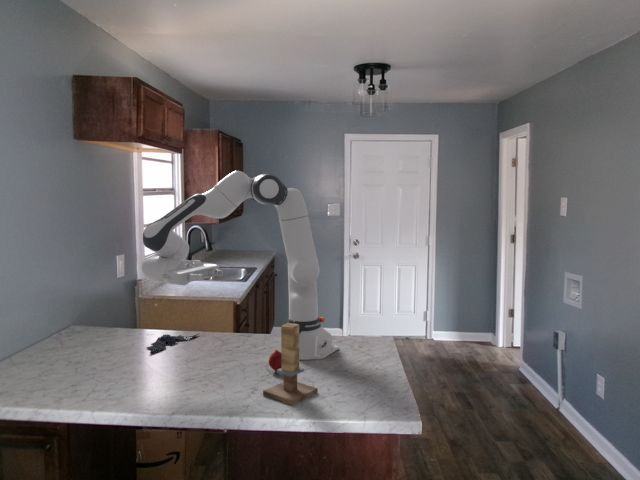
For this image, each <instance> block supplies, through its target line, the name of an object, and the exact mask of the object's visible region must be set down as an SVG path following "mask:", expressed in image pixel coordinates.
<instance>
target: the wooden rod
mask: <svg viewBox="0 0 640 480" xmlns="http://www.w3.org/2000/svg"><path fill="white" fill-rule="evenodd" d="M280 330H281V331H280V334H281V335H280V337H281V341H280V342H281V345H280V346H281V347H280V349H281V350H280V352H281V366H282V370H283V371H288V372H294V371H296V370H297V369H299V367H300V360H299V324H293V323H288V322H287V323H284V324H283V325H281V326H280Z"/></svg>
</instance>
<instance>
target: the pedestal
mask: <svg viewBox="0 0 640 480" xmlns="http://www.w3.org/2000/svg"><path fill="white" fill-rule="evenodd" d="M304 372H305V368H302V367H300V366H299V369H297V370H296V371H294V372H288V371H283V370H282V368H280V369H277V372H276V373H277V374H280V375H283V381H282V382H280V383H277V384H275V385H273V386H271V387H268V388H267V389H266V388H265V389H264V390H262V396H264V397H267V398H270V399H272V400H275V401H279V402H281V403H285V404H287V405H289V406H294V405H296V404H298V403H300V402H302V401H304V400H306V399H309V398H310V397H313V396H314V395H317V394H318V391H319V389H318V388H317V387H315V386H313V385H312V386H311V385H308V384H304V383H301V382H298V375H299V374H300V373H304Z"/></svg>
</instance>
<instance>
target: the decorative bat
mask: <svg viewBox="0 0 640 480" xmlns="http://www.w3.org/2000/svg"><path fill="white" fill-rule="evenodd" d="M197 336H199V333H196V334H194V335H189V336H183V335H181V334H179V335H178V336H177V335H176V336H175V335H170V334H163V335H161V336H159V337H157V339H156V340H155V341H154V342H153V343H150V346H148V347H146V349H147V350H149V351H150V353H156V352H157V353H158V352H163V351H166V350H167V347H166V345H168V346H175V345H176V343H179V341H180V342H188V341H187V340H189V341H191V340H193V339H194V338H196V337H197ZM184 337H186V338H187V337H192V338H190V339H191V340H190V339H188V338H187V340H186V339H184ZM177 340H178V341H177Z"/></svg>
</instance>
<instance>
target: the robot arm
mask: <svg viewBox="0 0 640 480" xmlns="http://www.w3.org/2000/svg"><path fill="white" fill-rule="evenodd" d="M248 199H251V200H253V201H255V202H256V203H258V204H261V205H273V206H274V207H275V209H276V212H277V215H278V221H279V227H280V231H281V232H280V233H281V236H282V241H283V246H284V250H285V255H286V259H287V260H286V261H287V280H288V281H287V285H288V287H287V289H288V318H287V323H293V324H299V361H300V360H306V361H307V360H323V359H325V358H327V357H329V356H330V355H331V354H333V353H334V352H336V351H337V350H339V345H337V344H334V343H333V337H332V334H331V332H329V331H328V330H326V329H325V328H323V326H322V325H321V323H326V318H325V317H322V316H319V307H318V306H319V295H318V283H317V280H318V279H319V276H320V271H321V269H320V265H319V264H320V263H319V260H318V254H317V251H316V250H317V249H316V246H315V242H314V241H315V240H314V238H313V234H312V228H311V223H310V217H309V213H308V208H307V205H306V200H305V198H304V196H303V194H302V192H301V190H299V189H297V188H294V187H288V188H287V187H286V185H285V184H284V183H283V181H281V179H280V178H279V177H277V176H276V175H274V174H272V173H262V174H259V175H257V176H254V177H249V176H248V174H246V173H245V172H243V171H240V170H234V171H232V172H231V173H229V174H227V175H226V176H225V177H223V178H222V179H220V180H219V181H218V182H217V183H216V184H215V185H214V186H213V187H212V188H211V189H209V190H208V191H205V192H203V193H196V194H193V195H192V196H190V197H188V198H187V199H186V200H184V201H183V202H181V203H180V204H179V205H177V206H175V208H173V209H172V210H170V211H169V212H167V213H166V214H165V215H164V216H163V217H161V218H159V219H157V220H155V221H154V222H151V223H149V224H148V225H147V226H146V227H145V228H144V230H143V233H142V243H143V245H144V247H146V248H147V249H149V250H150V251H152V252H154V254H153V255H152V256H150V257H147V258H145V259H144V260H143V261H142V263H141V272H142V274H143V276H144V277H145V278H146V279H147V280H148V281H151V282H155V283H161V284H167V283H168V284H171V285H178V286H186V285H188V284H189V283H191V282H196V281H198V282H200V281H204V280H205V279H209V278H213V277H223V275H224V271H223V270H220V265H219V264H215V263H211V262H205V261H203V262H202V260H199V259H194V260H193V259H192V260H191V259H190V260H189V259H188V257H189V254H190V250H191V249H190V244H189V243H188V242H187V240H186V239H184V238H183V237H182V236H181V235H179V234H178V233H176V232H175V231H174V230H175V229H176V228H178V227H179V226H180V225H182V224H183V223H184V222H186V221H187V220H188V219H190V218H191V217H194V216H205V217H209V218H211V219H224V218H226V217H228V216H229V215H231V214H232V213H234V211H235V210H236V209H237V208H238V207H239V206H240V205H241V204H242V203H243V202H244V201H246V200H248Z"/></svg>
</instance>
